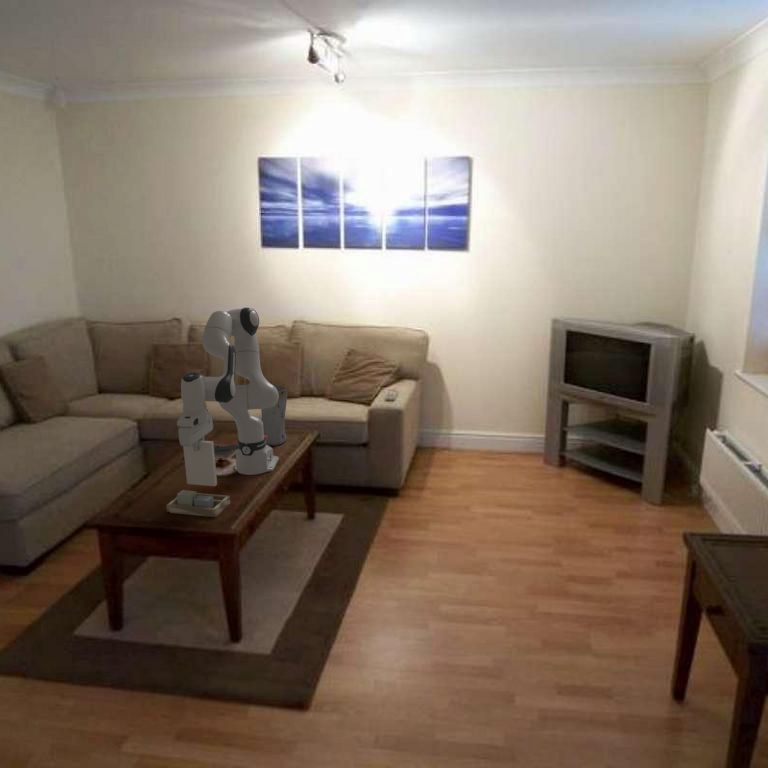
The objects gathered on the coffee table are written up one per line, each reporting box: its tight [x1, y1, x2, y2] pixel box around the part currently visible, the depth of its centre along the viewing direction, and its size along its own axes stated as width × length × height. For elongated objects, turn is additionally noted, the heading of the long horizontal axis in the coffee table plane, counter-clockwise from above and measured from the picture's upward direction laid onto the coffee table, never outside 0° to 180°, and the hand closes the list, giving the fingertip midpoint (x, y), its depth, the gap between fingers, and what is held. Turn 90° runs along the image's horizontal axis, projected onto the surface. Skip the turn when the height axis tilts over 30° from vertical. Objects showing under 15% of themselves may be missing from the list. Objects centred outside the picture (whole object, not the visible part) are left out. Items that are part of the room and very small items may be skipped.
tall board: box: [182, 440, 218, 487], centre depth 259 cm, size 2×12×18 cm, turn 77°
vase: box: [260, 384, 288, 447], centre depth 327 cm, size 13×14×28 cm
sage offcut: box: [176, 489, 197, 507], centre depth 258 cm, size 4×6×7 cm, turn 77°
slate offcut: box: [194, 495, 214, 508], centre depth 256 cm, size 4×6×6 cm, turn 77°
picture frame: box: [213, 443, 239, 460], centre depth 316 cm, size 16×2×22 cm
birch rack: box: [165, 492, 231, 518], centre depth 259 cm, size 13×20×3 cm, turn 77°
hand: (198, 449), depth 257 cm, fingers closed on tall board, 2 cm apart
